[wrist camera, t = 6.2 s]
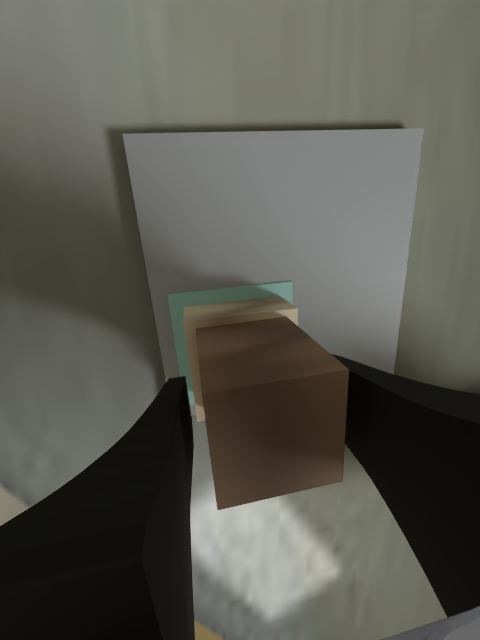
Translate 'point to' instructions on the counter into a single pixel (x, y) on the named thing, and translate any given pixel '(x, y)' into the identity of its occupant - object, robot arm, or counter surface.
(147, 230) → the board
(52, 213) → the counter surface
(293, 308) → the base block
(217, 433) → the walnut block
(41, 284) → the counter surface
